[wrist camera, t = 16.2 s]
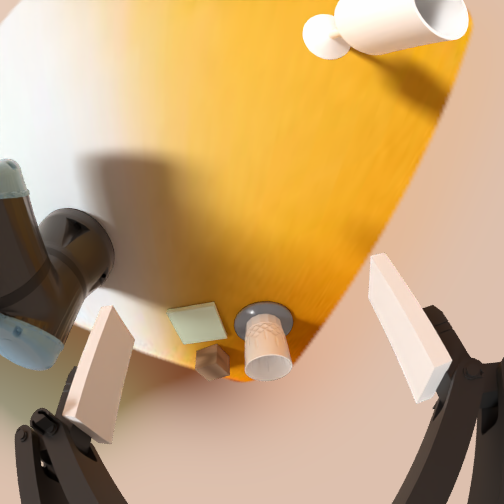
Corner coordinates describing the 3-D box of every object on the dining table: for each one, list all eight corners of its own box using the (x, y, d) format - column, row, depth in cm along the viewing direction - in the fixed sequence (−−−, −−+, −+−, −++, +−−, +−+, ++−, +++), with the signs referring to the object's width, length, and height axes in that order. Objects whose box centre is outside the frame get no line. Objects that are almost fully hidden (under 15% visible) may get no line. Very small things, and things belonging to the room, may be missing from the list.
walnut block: (209, 362, 62) (208, 381, 58) (196, 350, 60) (195, 369, 56) (229, 356, 61) (229, 375, 57) (216, 343, 59) (216, 363, 55)
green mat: (184, 340, 58) (183, 344, 57) (167, 309, 53) (166, 313, 52) (227, 334, 57) (227, 338, 56) (214, 301, 52) (213, 305, 51)
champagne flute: (344, 66, 32) (469, 73, 12) (296, 50, 31) (384, 20, 11) (357, 25, 29) (483, -2, 9) (309, 7, 27) (402, -59, 7)
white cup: (288, 333, 57) (296, 375, 49) (249, 342, 58) (252, 384, 49) (279, 306, 53) (287, 349, 44) (236, 316, 54) (238, 361, 45)
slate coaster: (241, 345, 59) (241, 348, 59) (227, 307, 53) (227, 310, 53) (295, 335, 59) (295, 338, 58) (288, 296, 53) (289, 299, 52)
